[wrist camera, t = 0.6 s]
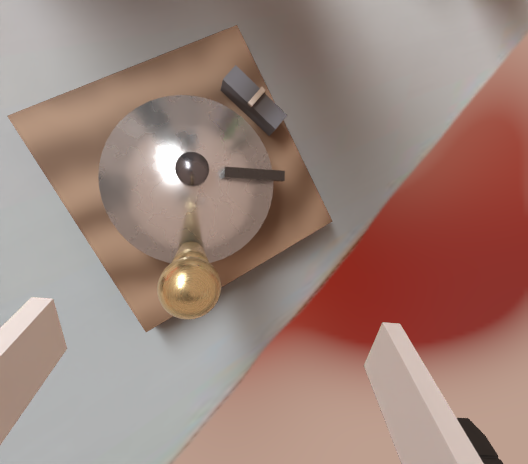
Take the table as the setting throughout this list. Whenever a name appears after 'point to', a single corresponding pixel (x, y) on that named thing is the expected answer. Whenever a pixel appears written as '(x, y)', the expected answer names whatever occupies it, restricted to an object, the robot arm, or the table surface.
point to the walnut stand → (136, 94)
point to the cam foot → (186, 192)
